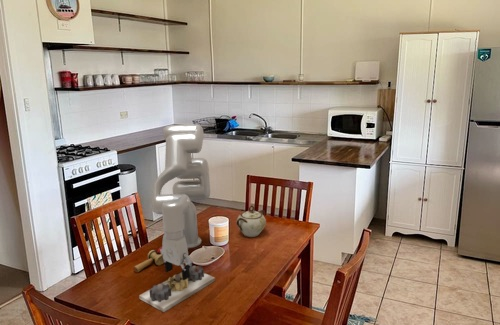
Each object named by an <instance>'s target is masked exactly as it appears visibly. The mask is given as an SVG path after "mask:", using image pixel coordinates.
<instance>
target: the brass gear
mask: <svg viewBox="0 0 500 325" xmlns="http://www.w3.org/2000/svg"><path fill="white" fill-rule="evenodd" d="M175 275H176V274H173V276H172V277H170V276H169V277H168V279H167V280H169V281H168V284H169V287H171V289H172V290H173V291H176V290H180V291H183V289H184V288H187V287H188V278H187V279H186V280H183V279H182V274H181V275H180V281H176V280H175Z"/></svg>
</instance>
